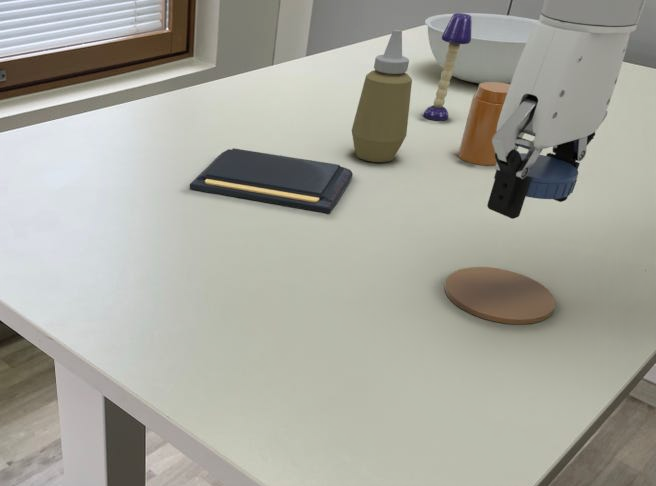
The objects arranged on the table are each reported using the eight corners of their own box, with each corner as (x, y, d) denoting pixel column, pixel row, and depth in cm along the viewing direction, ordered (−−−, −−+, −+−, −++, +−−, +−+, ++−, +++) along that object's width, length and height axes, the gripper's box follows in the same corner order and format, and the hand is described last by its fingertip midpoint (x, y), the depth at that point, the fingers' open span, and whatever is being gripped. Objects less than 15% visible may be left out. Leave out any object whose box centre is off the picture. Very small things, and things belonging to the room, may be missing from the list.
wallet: (357, 163, 103) (330, 202, 92) (354, 175, 104) (328, 215, 93) (226, 141, 109) (186, 175, 98) (225, 153, 111) (186, 188, 99)
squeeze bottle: (388, 170, 106) (413, 39, 96) (338, 157, 110) (358, 30, 99) (409, 155, 111) (436, 30, 101) (361, 143, 115) (382, 22, 105)
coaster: (573, 301, 76) (575, 296, 76) (517, 336, 71) (519, 331, 70) (481, 262, 83) (482, 257, 83) (423, 291, 78) (425, 286, 77)
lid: (478, 179, 70) (484, 160, 69) (523, 166, 74) (529, 148, 73) (542, 205, 66) (549, 185, 65) (587, 190, 69) (594, 171, 68)
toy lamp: (442, 112, 130) (466, 11, 120) (456, 120, 126) (482, 16, 116) (418, 114, 129) (440, 12, 119) (432, 122, 125) (456, 17, 115)
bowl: (412, 89, 142) (423, 35, 136) (416, 57, 163) (426, 9, 157) (561, 104, 135) (579, 47, 130) (545, 69, 157) (561, 19, 151)
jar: (509, 159, 111) (531, 88, 105) (486, 168, 108) (507, 95, 101) (473, 147, 115) (491, 78, 109) (449, 156, 112) (467, 85, 105)
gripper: (606, -9, 67) (544, 175, 77) (489, 6, 59) (437, 209, 69) (690, 5, 62) (611, 200, 72) (573, 23, 54) (504, 239, 64)
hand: (527, 203), depth 71 cm, fingers closed on lid, 7 cm apart
